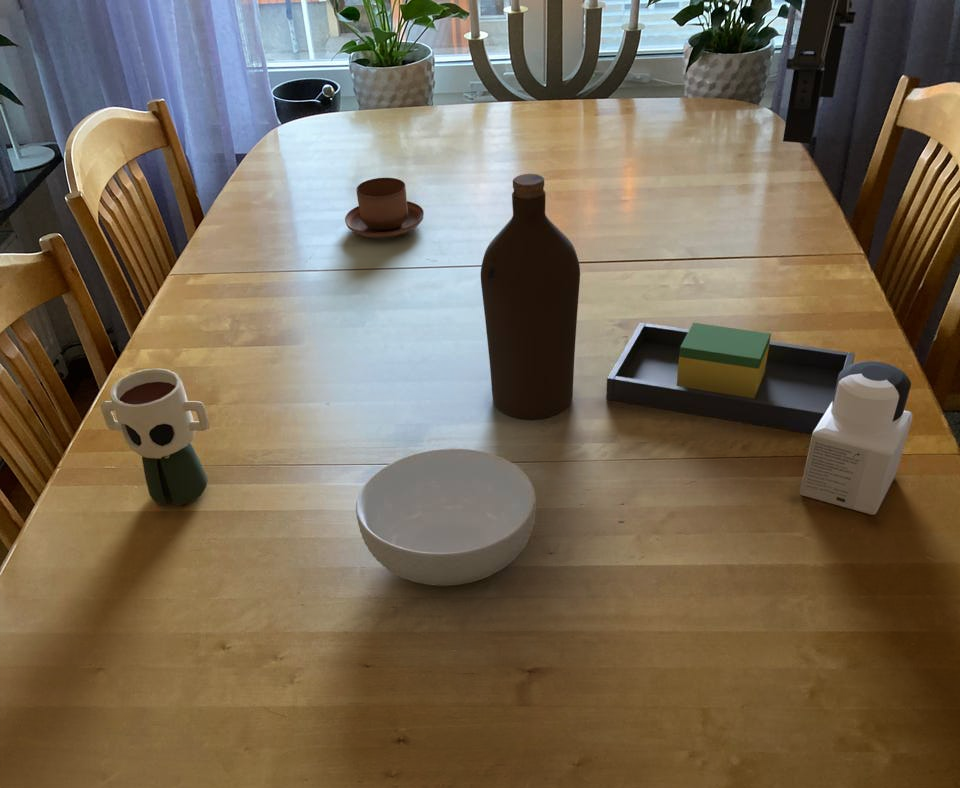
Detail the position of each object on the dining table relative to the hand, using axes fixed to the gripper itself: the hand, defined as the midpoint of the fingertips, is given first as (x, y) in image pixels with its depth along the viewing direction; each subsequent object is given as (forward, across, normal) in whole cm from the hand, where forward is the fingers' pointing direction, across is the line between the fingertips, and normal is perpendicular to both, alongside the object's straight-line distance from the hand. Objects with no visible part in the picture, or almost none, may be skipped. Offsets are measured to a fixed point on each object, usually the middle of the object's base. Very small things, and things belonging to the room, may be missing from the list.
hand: (809, 118), depth 103 cm
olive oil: (+27, +18, -24) cm, 40 cm away
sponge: (+26, +9, -4) cm, 28 cm away
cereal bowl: (+27, +47, -22) cm, 58 cm away
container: (+27, +24, +13) cm, 38 cm away
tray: (+27, +9, -3) cm, 28 cm away
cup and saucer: (+27, -20, -62) cm, 70 cm away
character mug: (+27, +47, -54) cm, 76 cm away
